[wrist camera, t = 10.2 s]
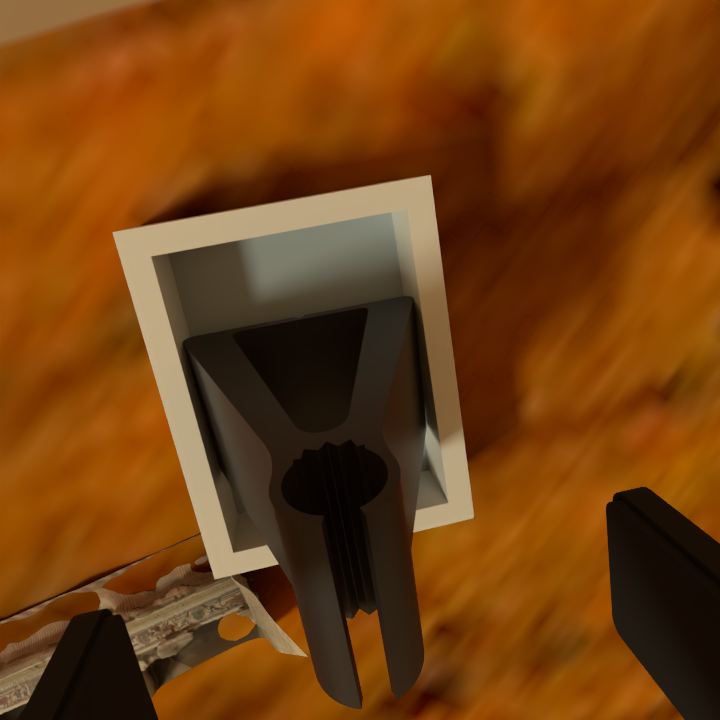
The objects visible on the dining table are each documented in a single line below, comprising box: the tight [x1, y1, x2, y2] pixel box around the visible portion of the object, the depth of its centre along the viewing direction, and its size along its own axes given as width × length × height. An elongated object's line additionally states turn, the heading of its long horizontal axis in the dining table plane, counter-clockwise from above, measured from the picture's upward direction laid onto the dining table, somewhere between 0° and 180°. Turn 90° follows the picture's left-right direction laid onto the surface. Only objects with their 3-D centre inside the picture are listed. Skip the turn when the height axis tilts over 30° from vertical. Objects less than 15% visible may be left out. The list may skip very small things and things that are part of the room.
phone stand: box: [183, 296, 427, 709], centre depth 18 cm, size 9×6×12 cm, turn 99°
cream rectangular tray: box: [113, 175, 474, 579], centre depth 24 cm, size 11×14×4 cm
